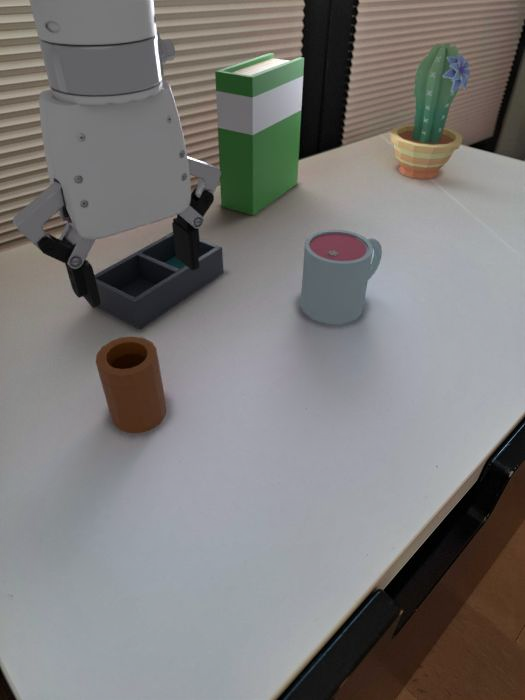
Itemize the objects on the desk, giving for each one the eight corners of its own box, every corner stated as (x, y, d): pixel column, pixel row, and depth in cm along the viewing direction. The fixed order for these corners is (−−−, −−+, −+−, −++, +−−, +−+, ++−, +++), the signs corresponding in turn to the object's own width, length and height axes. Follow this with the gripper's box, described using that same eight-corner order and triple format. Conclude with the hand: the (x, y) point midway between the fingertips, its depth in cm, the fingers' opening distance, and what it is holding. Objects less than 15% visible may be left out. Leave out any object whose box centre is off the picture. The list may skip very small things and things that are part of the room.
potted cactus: (389, 184, 109) (413, 51, 93) (379, 157, 121) (399, 36, 105) (461, 185, 109) (498, 53, 93) (444, 159, 121) (474, 37, 104)
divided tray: (94, 306, 75) (87, 278, 72) (179, 255, 86) (176, 229, 83) (139, 330, 70) (134, 302, 67) (223, 273, 82) (222, 246, 79)
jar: (100, 417, 58) (83, 359, 52) (140, 386, 62) (128, 329, 56) (138, 442, 56) (124, 384, 50) (177, 408, 59) (168, 350, 54)
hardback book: (267, 176, 112) (269, 52, 96) (297, 184, 109) (304, 57, 93) (221, 206, 100) (215, 71, 85) (252, 215, 97) (252, 77, 82)
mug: (329, 332, 70) (337, 271, 64) (288, 301, 76) (291, 241, 70) (397, 299, 77) (410, 240, 70) (354, 272, 82) (362, 215, 76)
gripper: (185, 43, 41) (200, 236, 52) (-47, 73, 33) (30, 294, 44) (240, 61, 36) (243, 267, 47) (-14, 100, 28) (63, 338, 39)
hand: (141, 280), depth 46 cm, fingers open, 9 cm apart
